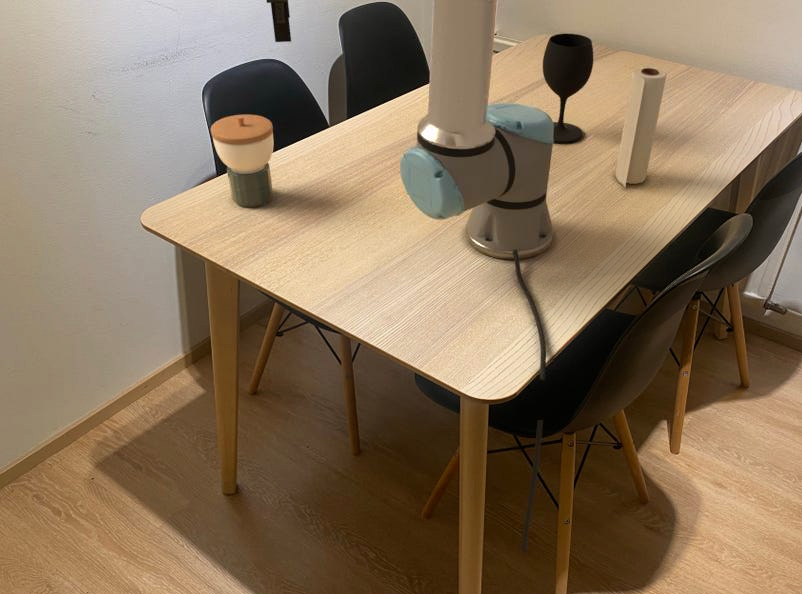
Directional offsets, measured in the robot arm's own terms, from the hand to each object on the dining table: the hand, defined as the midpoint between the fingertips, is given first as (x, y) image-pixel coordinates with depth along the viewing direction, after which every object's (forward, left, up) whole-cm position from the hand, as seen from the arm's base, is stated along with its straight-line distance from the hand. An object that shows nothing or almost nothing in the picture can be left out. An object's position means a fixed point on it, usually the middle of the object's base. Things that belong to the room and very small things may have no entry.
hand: (282, 29), depth 139 cm
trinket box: (-13, +9, -20) cm, 25 cm away
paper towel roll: (-14, -65, -27) cm, 72 cm away
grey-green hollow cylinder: (-13, +9, -27) cm, 31 cm away
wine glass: (+9, -57, -16) cm, 60 cm away
